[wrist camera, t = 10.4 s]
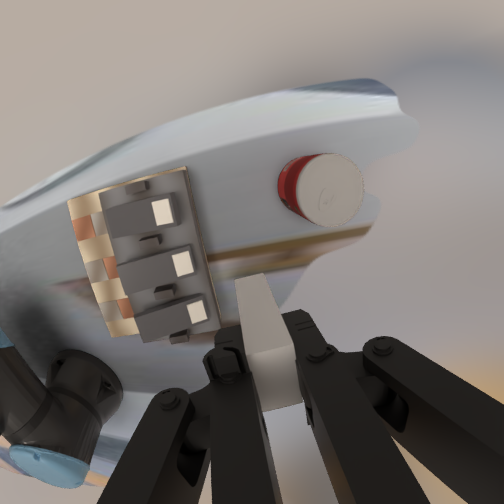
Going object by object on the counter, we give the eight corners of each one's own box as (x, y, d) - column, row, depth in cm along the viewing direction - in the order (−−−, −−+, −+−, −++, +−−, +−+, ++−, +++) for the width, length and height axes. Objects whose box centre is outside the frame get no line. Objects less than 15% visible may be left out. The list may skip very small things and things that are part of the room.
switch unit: (114, 333, 43) (100, 358, 36) (70, 199, 37) (46, 206, 30) (221, 314, 44) (222, 340, 37) (186, 166, 38) (179, 165, 31)
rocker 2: (142, 339, 35) (143, 344, 34) (133, 314, 34) (134, 318, 33) (207, 317, 38) (210, 321, 37) (200, 292, 37) (203, 296, 36)
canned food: (272, 209, 41) (291, 222, 30) (280, 152, 39) (303, 145, 28) (323, 216, 42) (357, 232, 31) (332, 162, 40) (369, 161, 29)
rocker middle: (125, 292, 33) (125, 296, 32) (116, 264, 32) (115, 267, 31) (195, 272, 36) (197, 275, 35) (188, 243, 35) (189, 246, 34)
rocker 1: (117, 236, 34) (111, 239, 32) (110, 207, 33) (104, 210, 31) (181, 223, 32) (176, 226, 31) (174, 191, 31) (169, 193, 30)
